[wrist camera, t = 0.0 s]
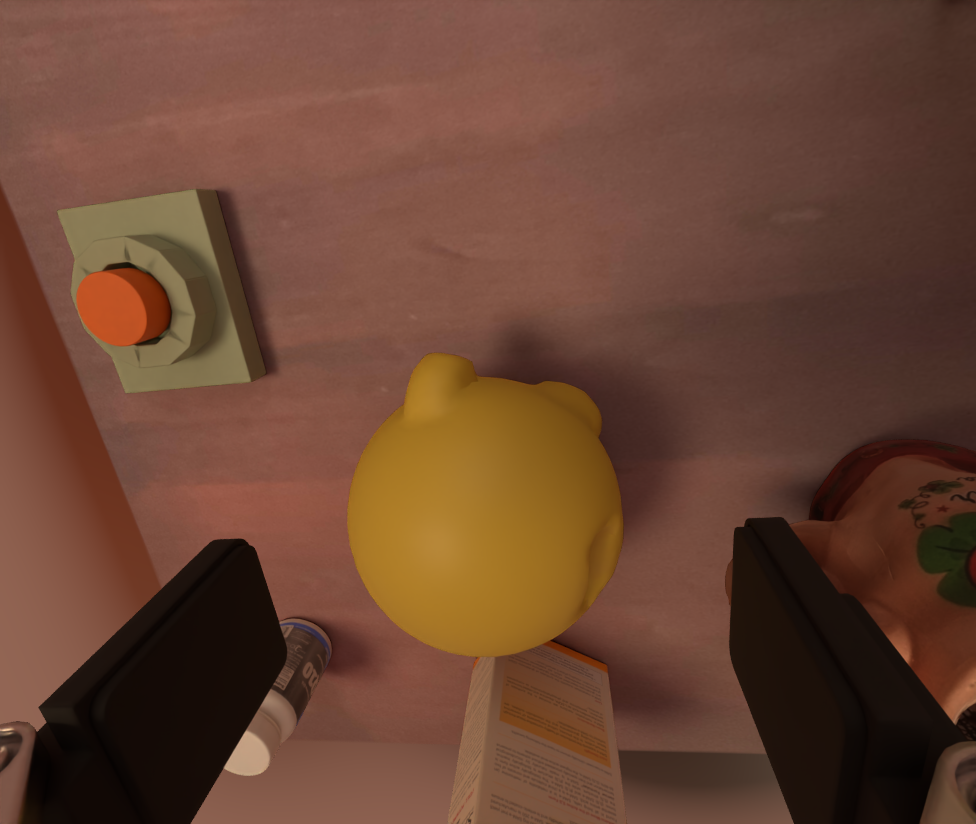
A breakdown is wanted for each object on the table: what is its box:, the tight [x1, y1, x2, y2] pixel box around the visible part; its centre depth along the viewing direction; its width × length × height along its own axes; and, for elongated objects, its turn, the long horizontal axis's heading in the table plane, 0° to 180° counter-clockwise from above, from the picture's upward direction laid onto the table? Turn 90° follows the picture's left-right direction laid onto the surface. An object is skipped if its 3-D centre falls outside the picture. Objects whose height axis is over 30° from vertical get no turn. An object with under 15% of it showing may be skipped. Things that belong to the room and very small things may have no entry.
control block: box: [57, 189, 266, 393], centre depth 28 cm, size 10×8×4 cm
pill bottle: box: [224, 618, 332, 776], centre depth 34 cm, size 5×5×8 cm
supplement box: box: [448, 641, 627, 824], centre depth 30 cm, size 8×5×13 cm, turn 66°
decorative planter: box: [725, 440, 976, 741], centre depth 23 cm, size 20×12×14 cm, turn 90°
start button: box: [76, 268, 171, 347], centre depth 26 cm, size 4×4×2 cm
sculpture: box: [348, 353, 624, 657], centre depth 25 cm, size 15×13×13 cm
